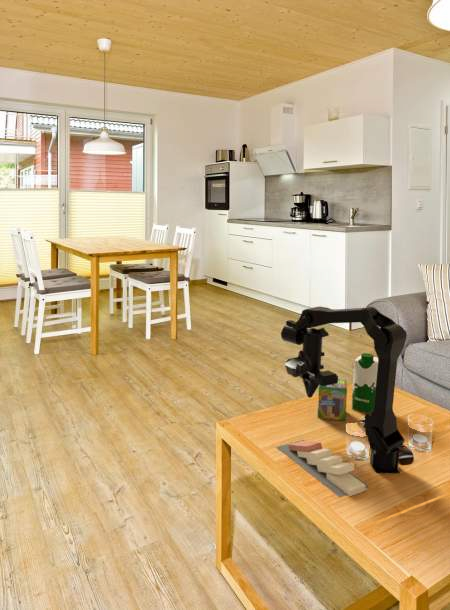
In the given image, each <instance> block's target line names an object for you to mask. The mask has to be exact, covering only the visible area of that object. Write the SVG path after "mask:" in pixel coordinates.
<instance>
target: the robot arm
mask: <svg viewBox="0 0 450 610" xmlns="http://www.w3.org/2000/svg"><path fill="white" fill-rule="evenodd" d="M301 311H302V312H301V314H300V317H299V318H298V319H297V321H295V320H293V319H289V320H286V321H285V325H284V326H283V327H282V330H281V332H280V337H281V339H282V341H284V342H287V343H291V344H294V345H297V346H301V345H302V350H299V352H298V355H297V356H296V357H291V358H287V360H286V362H285V363H284V366H285V370H286V373H287V374H288V375H290V376H292V377H293V378H298V377H299V378H300V379H301V380H302V383H303V386H304V389H305V393H306V396H307V398H309V399H311V398H312V397H313V396H314V395H315V392H316V391H317V389H318V388H319V385H321V386H327V385H331V384H336V383H338V379H339V376H338V375H337V373H335V372H334V371H331V370H324V369H325V366H324V365H323V364H322V357H324V356H325V354H326V353H325V352H324V351H323V338H326V337H329V336H330V334H329V332H328V331H327V330H326V329H325V328H324V327H321V328H315V327H320V326H324V325H327V324H328V325H329V324H344V323H345V324H346V323H347V324H349V323H354V324H355V323H360V324H362V327H364V329H365V333H366V335H368V336H369V337H370V338H371V339H372V340H373V349H374V351H375V354H376V356H377V358H378V368H377V379H376V390H375V401H374V409H373V411H371V412H368V413H367V412H365V414H364V425H363V427H362V428H364V431H365V432H364V433H365V435H366V437H367V439H368V445H369V448H370V458H369V464H370V467H372V469H373V471H374V472H375V473H376V474H397V475H398V474H400V473H401V472H400V469H399V460H400V448H399V447H402V446H403V444H404V443H405V440H406V439H405V438H404V436H403V435H402V433H401V432H400V430H399V429H398V425H397V417H396V414H395V411H394V410H393V409H394V407H393V406H394V398H395V397H394V396H395V388H396V387H395V386H396V379H397V378H396V376H397V366H398V360H399V357H400V356H401V355H402V352H403V350H404V348H405V344H406V341H407V336H408V335H407V331H406V330H405V329H404V327H403V326H401V325H400V324H398V323H396V322H395V321H394V320H393V319H391V318H390V317H388V316H387V315H385V314H383V313H381V312H380V311H379V310H378V309H377V308H376V307H374V306H367V307H354V308H352V307H351V308H341V309H340V308H339V309H337V308H336V309H335V308H334V309H333V308H329V307H326V306H313V307H310V308H309V307H308V308H306V309H303V310H301Z"/></svg>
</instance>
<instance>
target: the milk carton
mask: <svg viewBox="0 0 450 610" xmlns="http://www.w3.org/2000/svg"><path fill="white" fill-rule="evenodd" d="M377 368H378V356H377V357H376V356H374V355H373V353H367V352H365V353H364V352H363V353H362V354H361V355H359V356H358V357H357V358H356V359H354V364H353V380H352V396H351V399H352V400H351V409H352V410H354V411H359V412H364V413H368V412H371V411H373V409H374V401H375V390H376V379H377Z"/></svg>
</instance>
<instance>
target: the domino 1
mask: <svg viewBox="0 0 450 610" xmlns="http://www.w3.org/2000/svg"><path fill="white" fill-rule="evenodd" d="M299 441H300V442H297V441H295V442H296V443H293V442H292V443H293V444H289V443H288V444H289V450H292V451H300V452H311V451H314V450H318V449H321V448H323V445H322V442H320V441H307V440H304V441H301V440H299Z"/></svg>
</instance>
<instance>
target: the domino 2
mask: <svg viewBox="0 0 450 610" xmlns="http://www.w3.org/2000/svg"><path fill="white" fill-rule="evenodd" d="M297 453H298V457H303V458H310V459H321V458H324V457H327V456H331V455H333V454H332V449H331V448H323V447H322V448H321V449H318V450H314V451H311V452H300V451H297Z"/></svg>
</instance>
